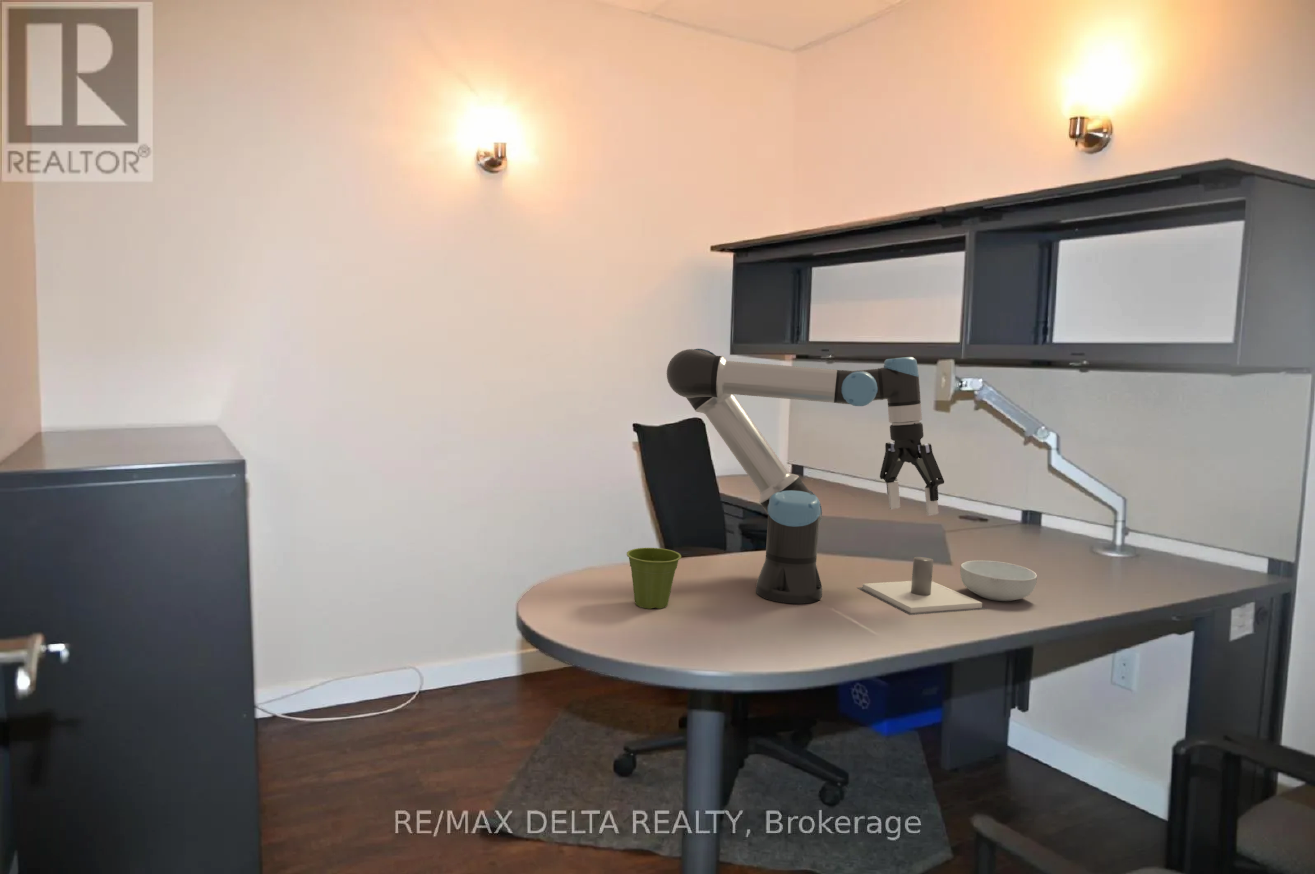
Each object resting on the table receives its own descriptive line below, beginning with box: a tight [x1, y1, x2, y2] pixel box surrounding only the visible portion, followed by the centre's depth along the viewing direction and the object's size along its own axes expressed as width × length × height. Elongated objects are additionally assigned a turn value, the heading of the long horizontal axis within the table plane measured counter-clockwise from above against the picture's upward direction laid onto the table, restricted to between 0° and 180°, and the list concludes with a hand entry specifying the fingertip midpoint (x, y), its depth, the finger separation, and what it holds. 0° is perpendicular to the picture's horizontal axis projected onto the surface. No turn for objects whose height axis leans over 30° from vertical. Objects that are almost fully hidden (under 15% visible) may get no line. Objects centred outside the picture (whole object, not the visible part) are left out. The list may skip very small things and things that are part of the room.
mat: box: [857, 586, 988, 616], centre depth 200 cm, size 21×21×1 cm
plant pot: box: [626, 547, 682, 610], centre depth 186 cm, size 12×12×11 cm
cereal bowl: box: [959, 560, 1038, 602], centre depth 204 cm, size 17×17×7 cm
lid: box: [862, 556, 983, 613], centre depth 199 cm, size 19×19×9 cm
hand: (913, 511), depth 204 cm, fingers open, 13 cm apart
